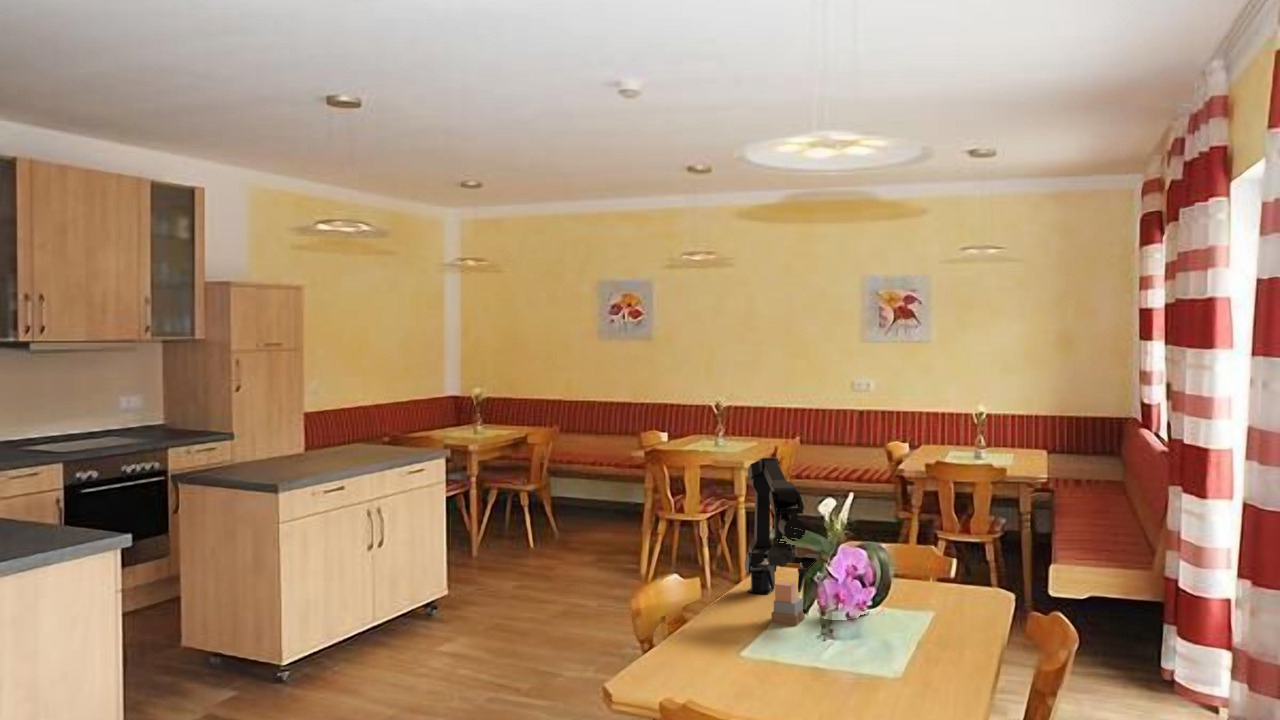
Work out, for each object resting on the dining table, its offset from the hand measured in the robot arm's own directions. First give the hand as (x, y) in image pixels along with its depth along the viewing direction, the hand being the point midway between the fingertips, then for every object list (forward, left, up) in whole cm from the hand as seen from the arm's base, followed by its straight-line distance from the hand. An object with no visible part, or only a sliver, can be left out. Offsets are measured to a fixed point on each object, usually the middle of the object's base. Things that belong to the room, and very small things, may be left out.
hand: (786, 590), depth 264 cm
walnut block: (0, 0, -9) cm, 9 cm away
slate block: (0, 0, -6) cm, 6 cm away
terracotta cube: (0, 0, -3) cm, 3 cm away
